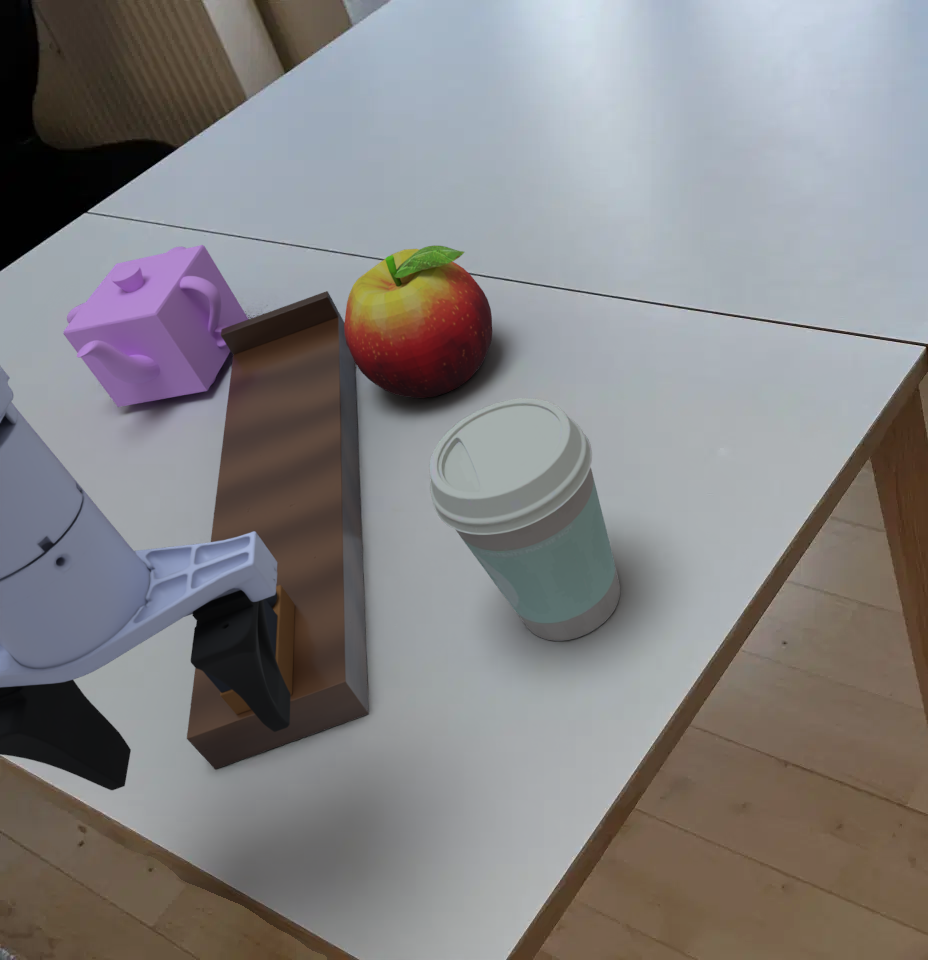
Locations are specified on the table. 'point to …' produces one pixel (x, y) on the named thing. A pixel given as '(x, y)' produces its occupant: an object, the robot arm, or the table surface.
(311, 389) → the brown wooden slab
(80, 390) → the table surface
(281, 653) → the cube on wooden base
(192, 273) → the teapot
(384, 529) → the table surface
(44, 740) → the robot arm
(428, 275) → the fruit
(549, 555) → the coffee cup
